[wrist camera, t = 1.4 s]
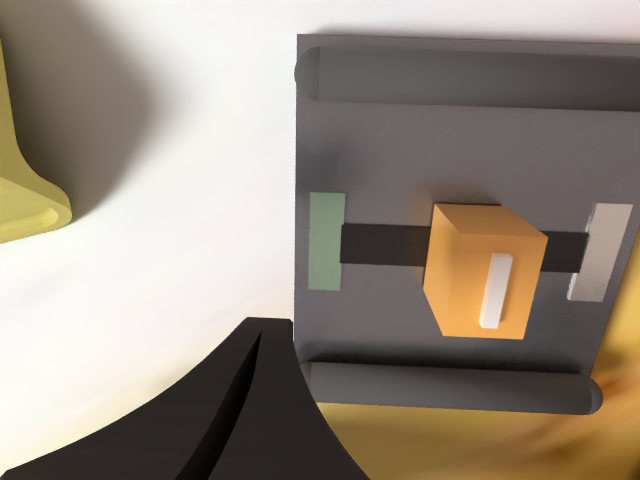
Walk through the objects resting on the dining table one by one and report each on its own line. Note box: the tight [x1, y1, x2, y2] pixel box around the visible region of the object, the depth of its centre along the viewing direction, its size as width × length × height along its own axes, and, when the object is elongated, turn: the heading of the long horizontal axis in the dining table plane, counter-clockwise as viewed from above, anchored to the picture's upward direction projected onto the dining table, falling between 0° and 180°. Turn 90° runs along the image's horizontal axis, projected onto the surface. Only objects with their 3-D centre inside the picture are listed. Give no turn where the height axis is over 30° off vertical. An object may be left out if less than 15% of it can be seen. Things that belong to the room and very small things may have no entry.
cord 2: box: [294, 46, 640, 112], centre depth 16 cm, size 2×16×2 cm, turn 89°
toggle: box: [423, 204, 548, 339], centre depth 17 cm, size 4×3×4 cm
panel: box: [294, 34, 640, 377], centre depth 20 cm, size 18×16×1 cm
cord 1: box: [300, 362, 603, 415], centre depth 21 cm, size 2×16×2 cm, turn 88°
